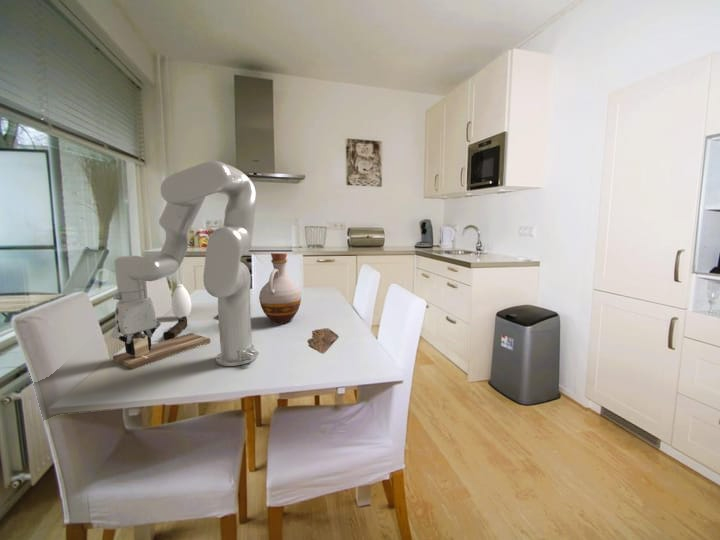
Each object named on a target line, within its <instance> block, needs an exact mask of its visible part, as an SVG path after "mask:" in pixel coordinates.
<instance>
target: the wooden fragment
mask: <svg viewBox="0 0 720 540" xmlns="http://www.w3.org/2000/svg"><path fill="white" fill-rule="evenodd" d="M311 332H312V337H311V338H308V340H307V342H308V347H310V348H312V349H313V350H316V351H318V352H319V353H320V354H322V355H323V354H325V353H326V352H327V350H328V349H330V348H331V346H332V344H333V343H334V342H335V341H336V340H337V339H338V338H339V337H340V336H339V335H338V334H337V333H336V332H334V330H331V329H330V327H324V328H323V327H322V328H320V329H314V330H312V331H311Z"/></svg>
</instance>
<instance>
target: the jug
mask: <svg viewBox="0 0 720 540" xmlns="http://www.w3.org/2000/svg"><path fill="white" fill-rule="evenodd" d="M270 256H271V260H270V261H271V264H272V266H273V267H272V268H273V270H272V271H271V273H270V275H269V279H268V281H267V282H266V283H265V284H264V286H263V287H262V288H261V290H260V291H259V295H258V296H259V297H258V300H259V304H260V307H261V309H262V312H263V313H264V314H265V316H266V317H267V318H268V319H269V320H270V322H272V323H273V324H280V325H281V324H285V323H286V324H287V323H289V322H291V321H292V320H293V318H294V317H295V315H296V314H297V313H298V311H299V309H300V306H301V304H302V303H301V302H302V291H301V289H300V287H299V286H298V285H297V284H296V283H295V282H294V281H292V280H291V278H290V277H288V276H287V274H286V264H287V262H288V259H287V256H288V253H286V252H275V253H274V252H271V253H270Z"/></svg>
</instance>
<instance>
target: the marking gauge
mask: <svg viewBox="0 0 720 540" xmlns="http://www.w3.org/2000/svg"><path fill="white" fill-rule="evenodd" d="M131 342H132V343H133V344H134V353H135V354H134V355H131V356H133V357H135V358H136V357H139V356H143V355H146V354H149V348H148V338H147V335H145V334H144V333H143V332H138V333H134V334H132V338H131ZM129 355H130V354H129Z"/></svg>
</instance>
